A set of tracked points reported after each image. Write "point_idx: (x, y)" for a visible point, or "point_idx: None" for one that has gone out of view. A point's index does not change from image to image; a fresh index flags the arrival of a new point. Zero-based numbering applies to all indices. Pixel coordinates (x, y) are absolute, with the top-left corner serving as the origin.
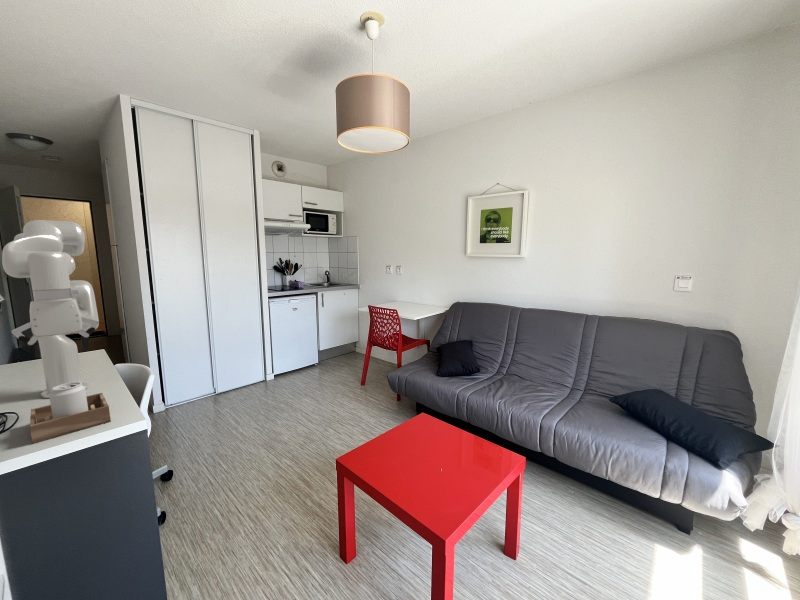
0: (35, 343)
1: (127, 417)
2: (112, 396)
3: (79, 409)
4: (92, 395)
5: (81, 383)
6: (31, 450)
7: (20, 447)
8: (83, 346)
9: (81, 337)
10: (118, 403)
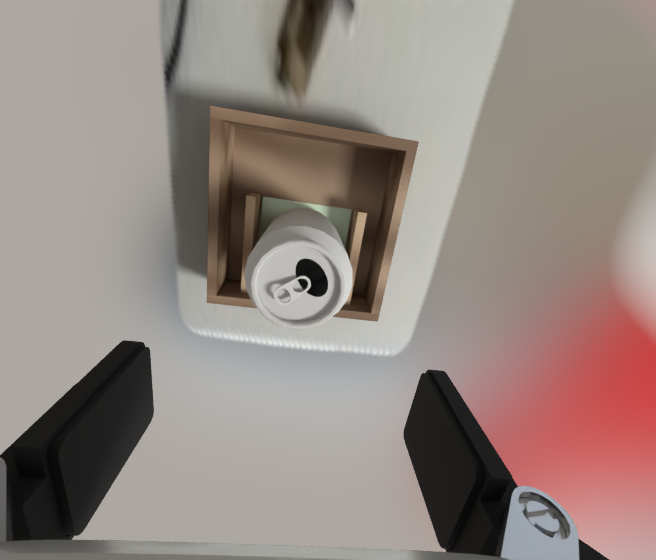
0: (47, 537)
1: (401, 307)
2: (463, 32)
3: (316, 294)
4: (387, 145)
5: (343, 298)
6: (218, 319)
7: (200, 279)
8: (417, 468)
9: (470, 498)
10: (437, 156)
